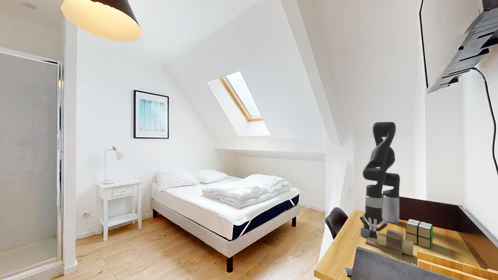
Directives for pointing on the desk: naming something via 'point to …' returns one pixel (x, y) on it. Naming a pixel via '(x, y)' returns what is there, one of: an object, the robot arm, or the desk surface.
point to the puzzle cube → (419, 233)
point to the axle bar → (406, 245)
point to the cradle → (365, 232)
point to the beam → (389, 242)
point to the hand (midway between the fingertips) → (372, 237)
